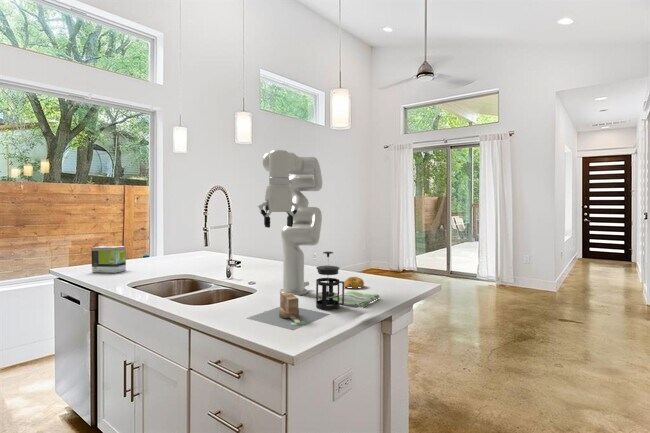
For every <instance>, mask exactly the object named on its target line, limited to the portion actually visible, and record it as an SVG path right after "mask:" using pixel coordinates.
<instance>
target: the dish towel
mask: <svg viewBox="0 0 650 433" xmlns="http://www.w3.org/2000/svg"><path fill="white" fill-rule="evenodd" d="M378 298H380V299H381V297H380V295H379V294H375V293H374V294H369V293H362V292H358V291H354V290H353V291H352V290H351V291H347V292H344V304H343V305H342V306H346V307H352V308H357V309H358V308H362V307H363V308H365V307H367V306H369V305H370V304H369V303H370V302H372V301H374V300H376V299H378ZM333 300H336V301H338V297H336V298H333ZM339 303H342V294H339ZM368 304H369V305H368ZM366 305H367V306H366ZM364 306H365V307H364ZM363 308H362V309H363Z"/></svg>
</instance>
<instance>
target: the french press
mask: <svg viewBox="0 0 650 433" xmlns="http://www.w3.org/2000/svg"><path fill="white" fill-rule="evenodd" d="M322 254H324V255H326V258H327V262H329V258H330V254H331V255H332V254H334V252H332V251H323V252H322ZM316 269H317V273H318V274H319V275H322V276H326V277H320V278H317V279H316V280H315V282H316V285H315V289H316V290H315V292H316V295H315V298H316V299H315V307H316V309H317V310H321V311H335V310H338V309H339V308H340V306H344V305H343V304H344V293H345V288H344V281H342V280H340V279H339V278H335V277H329V276H337V275H338V274H339V270H340V269H341V268H340V267H339V266H337V265H320V266H319V265H318V266H316ZM340 284H342V289H341V290H342V291H341V293H342V294H341V295H342V303H339V295H340ZM319 286H321V292H319ZM335 286H337V292H335V291H334V287H335ZM336 297H338V301H336V300H333V298H336ZM319 298H320V299H319Z"/></svg>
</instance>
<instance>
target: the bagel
mask: <svg viewBox="0 0 650 433" xmlns="http://www.w3.org/2000/svg"><path fill="white" fill-rule="evenodd" d="M343 282H344V287H352V288H358V287H362V286H363V287H364V285H365V281H364V280H363V279H362V278H361V277H358V276H350V277H348V278H347V279H346V280H344V281H343ZM363 287H362V288H363Z"/></svg>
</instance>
